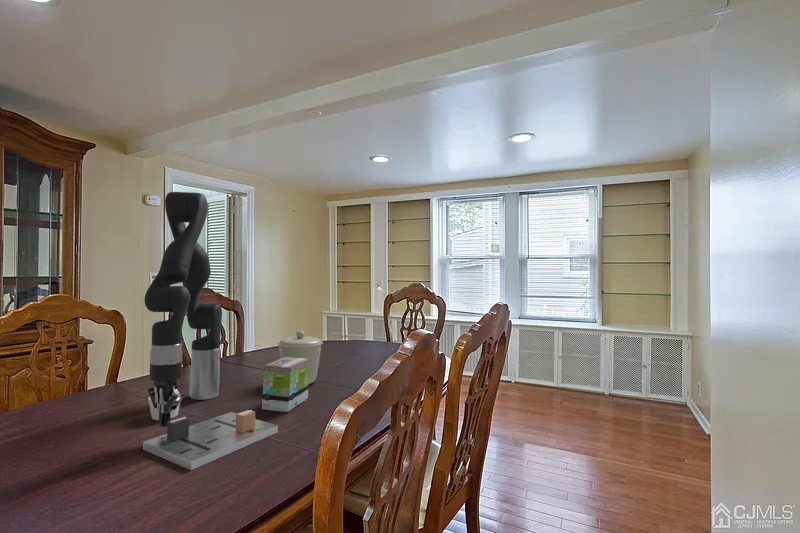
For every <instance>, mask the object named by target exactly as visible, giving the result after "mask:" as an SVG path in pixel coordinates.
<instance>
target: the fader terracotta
mask: <svg viewBox="0 0 800 533" xmlns="http://www.w3.org/2000/svg"><path fill="white" fill-rule="evenodd" d="M255 419H256V411H253V410H252V409H251V410H249V409H246V410H244V411H241V412H238V413H237V414H236V431H238V432H241V433H244V432H247V431H249V430H252V429H254V428H255Z"/></svg>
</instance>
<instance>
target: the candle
mask: <svg viewBox="0 0 800 533" xmlns="http://www.w3.org/2000/svg"><path fill="white" fill-rule="evenodd" d="M147 398H148V406H149V410H150V411H149V412H150V417H151V419H152V420H154V421H159V412H158V411H157V408H154V407H153V404H152V401H151V398H150V396H149V397H147ZM180 405H181V402H180V403H179V405H178V407H177V409H176V410H172V411H171V412H170V420H172V419H175V417H176V418H177V416H178V414H179V410H180V407H181V406H180Z"/></svg>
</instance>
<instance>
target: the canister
mask: <svg viewBox="0 0 800 533" xmlns="http://www.w3.org/2000/svg"><path fill="white" fill-rule="evenodd" d="M276 344H277V346H278V350H279V351H278V352H279V359H281V358H284V357H293V358H306V359H309V384H308V385H311V384H314V382H315V381H316V379H317V377H318V370H319V364H320V357H321V350H322V349H321V348H322V345H323V344H324V341H322V340H321V339H320V338H317V337H313V336H306V333H305V332H304V330H298V331H297V332H296V333H295V336H288V337H285V338H282V339H280V340H279V341H277V342H276Z"/></svg>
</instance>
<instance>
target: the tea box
mask: <svg viewBox="0 0 800 533" xmlns="http://www.w3.org/2000/svg"><path fill="white" fill-rule="evenodd" d="M309 385H310V384H309V359H306V358H293V357H284V358H281V359H280V358H279V359H276V360H275V361H272V362H269V363H267V364H263V380H262V399H261V400H262V402H261V410H266V411H273V412H275V411H276V412H284V413H285V412H286V413H288V412H290V411H291V410H293V409H294V408H295V407H297V406H298V405H300V404H302V403H303V402H306V399H307V400H308V399H309Z"/></svg>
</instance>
